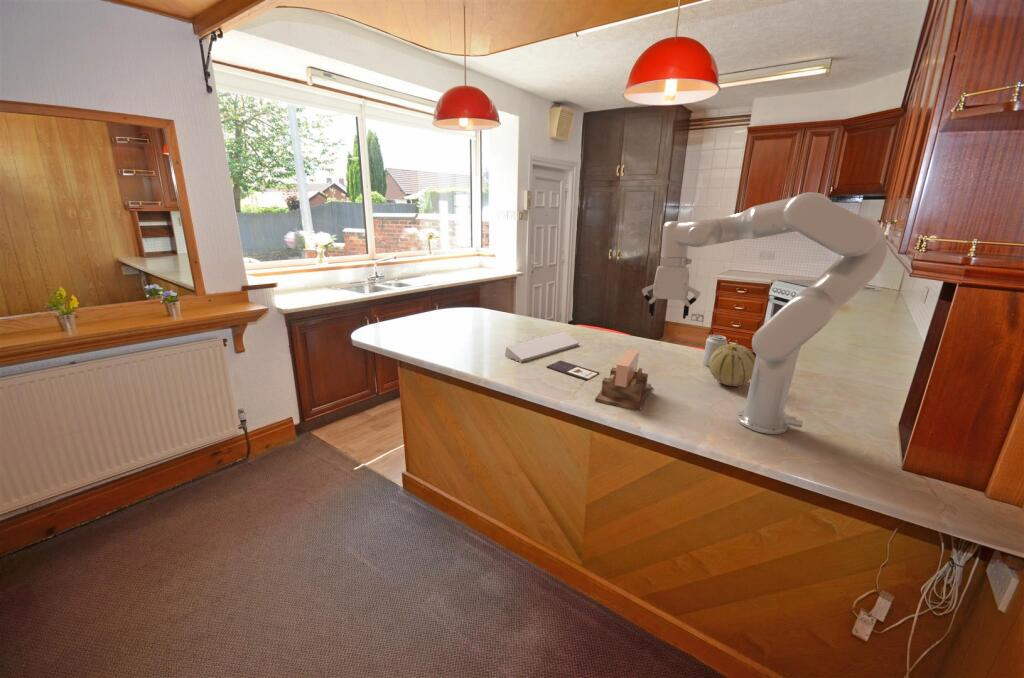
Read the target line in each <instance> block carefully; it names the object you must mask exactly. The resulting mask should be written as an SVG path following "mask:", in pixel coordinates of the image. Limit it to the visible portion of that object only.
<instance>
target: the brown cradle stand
mask: <svg viewBox="0 0 1024 678" xmlns="http://www.w3.org/2000/svg"><path fill="white" fill-rule="evenodd" d="M616 368H617V367H612V368H611V370H610V371H609V373H610V375H609V376H608V377H604V378H603V379H602V382H601V383H602V384H601V390H600V392H599V393H597V395H596V397H595V398H594V401H595V402H597V403H603V404H606V405H610V406H615V407H619V408H624V409H628V408H629V410H633V409H634V411H637V410H638V412H640V411H641V409H640V408H642V406H643V405H644V402H645V400H646V398H647V396H648V394H649V392H650V390H651V388H652V384H651V383H648V378H649V373H644V372H643V368H641V367H640V368H638V369H637V371H636V372H635V374H634V376H633V377H632V379H631V380H630V382H629V383H628V385H627V387H622V386H617V385H615V379H616ZM639 410H640V411H639Z"/></svg>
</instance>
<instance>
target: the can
mask: <svg viewBox="0 0 1024 678" xmlns="http://www.w3.org/2000/svg"><path fill="white" fill-rule="evenodd" d="M727 344H728V340H727V337H726V336H724V335H721V334H710V335H708V338H706V340H705V347H704V351H703V358H702V363H703V364H704V366H707V367H708V368H709V360H710V358H711V355H712V354H713V353H714V352H715V351H716V349H718V348H719V347H721V346H723V345H727Z"/></svg>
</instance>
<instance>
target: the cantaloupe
mask: <svg viewBox="0 0 1024 678" xmlns="http://www.w3.org/2000/svg"><path fill="white" fill-rule="evenodd" d="M755 358H756V356H755V355H754V354H753V352H752V350H750V349H749V348H748V347H746V346H744V345H742V344H741V345H740V344H737V343H730V344H727V345H723V346H721V347H719V348H718V349H716V351H715V352H714V353H713V354H712V355H711V358H710V360H709V367H708V369H709V372H710V374H711V375H712V377H713V378H714V380H715V381H717V382H719V383H721V384H722V385H725V386H729V387H739V386H741V385H744V384H746V383H747V382H748V383H749V382H750V381H751V377H752V372H753V367H754V362H755Z"/></svg>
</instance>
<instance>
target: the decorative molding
mask: <svg viewBox="0 0 1024 678" xmlns="http://www.w3.org/2000/svg"><path fill="white" fill-rule="evenodd" d="M579 343H580V341H578V340H577V339H575V338H573V337H572V336H571V335H570V334H568V333H567V332H565V331H561V332H558V333H554V334H549V335H546V336H543V337H542V336H541V337H538V338H534V339H530V340H527V341H524V342H520V343H516V344H512V345H508V346H506V348H505V353H504V356H505V357H507V358H509V357H510V358H509V359H512V360H514V361H516V360H517V361H516V362H518V361H519V362H518V363H523V361H524V362H527V361H530V360H533V359H534V360H535V359H536V358H540V357H543V356H547V355H551V354H553V353H558V352H559V351H562V350H566V349H570V348H573V347H577V346H578V345H579Z"/></svg>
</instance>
